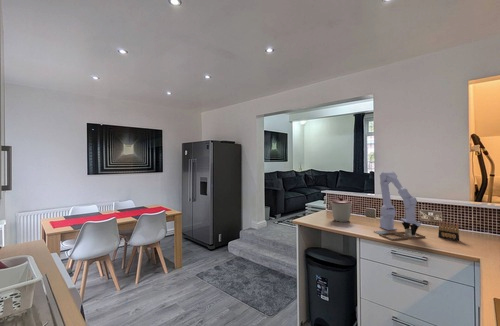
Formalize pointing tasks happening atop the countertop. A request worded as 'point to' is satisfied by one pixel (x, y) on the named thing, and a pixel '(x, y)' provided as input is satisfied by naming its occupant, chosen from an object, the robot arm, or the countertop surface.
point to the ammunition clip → (444, 231)
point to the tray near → (394, 234)
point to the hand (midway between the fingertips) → (410, 233)
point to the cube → (409, 233)
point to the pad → (381, 232)
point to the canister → (341, 209)
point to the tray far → (411, 237)
